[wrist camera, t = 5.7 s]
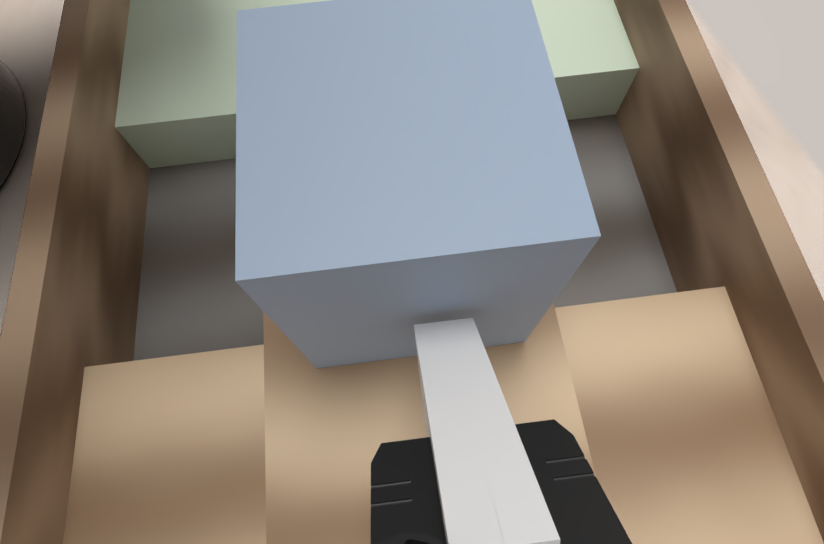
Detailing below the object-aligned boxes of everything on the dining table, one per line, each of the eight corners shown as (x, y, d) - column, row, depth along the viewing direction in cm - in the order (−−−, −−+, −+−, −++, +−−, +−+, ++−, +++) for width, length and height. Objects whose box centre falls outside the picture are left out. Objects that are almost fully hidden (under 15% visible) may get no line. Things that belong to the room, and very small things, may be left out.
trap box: (794, 592, 18) (983, 646, 12) (90, 694, 17) (-89, 806, 11) (578, -17, 29) (618, -146, 23) (153, 29, 29) (81, -92, 23)
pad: (615, 114, 25) (639, 67, 22) (149, 168, 24) (114, 127, 21) (565, -31, 28) (580, -86, 26) (163, 12, 28) (135, -39, 25)
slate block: (524, 341, 17) (601, 235, 10) (316, 368, 17) (235, 280, 10) (487, 166, 20) (525, -21, 13) (306, 187, 20) (236, 10, 12)
